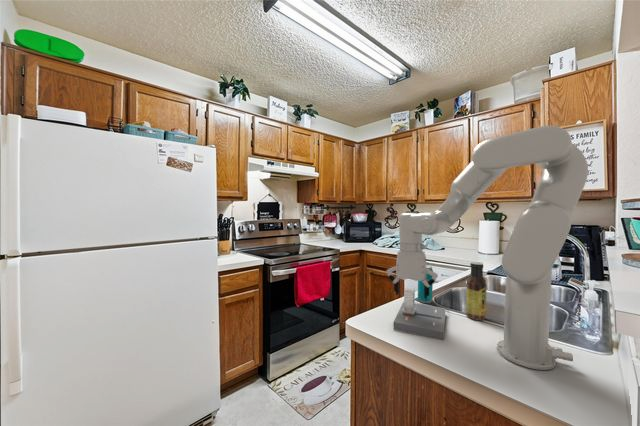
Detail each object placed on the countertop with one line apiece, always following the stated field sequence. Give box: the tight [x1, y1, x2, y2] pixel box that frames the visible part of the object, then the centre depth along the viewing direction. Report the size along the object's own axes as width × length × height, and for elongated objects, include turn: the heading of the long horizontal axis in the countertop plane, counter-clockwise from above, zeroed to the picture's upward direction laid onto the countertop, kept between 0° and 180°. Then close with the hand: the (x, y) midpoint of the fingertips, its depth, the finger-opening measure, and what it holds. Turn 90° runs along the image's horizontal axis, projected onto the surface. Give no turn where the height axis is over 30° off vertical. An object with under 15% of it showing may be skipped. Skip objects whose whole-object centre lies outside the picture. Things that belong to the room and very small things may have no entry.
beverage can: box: [417, 264, 434, 304], centre depth 110 cm, size 6×6×15 cm
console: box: [393, 301, 446, 341], centre depth 92 cm, size 15×20×3 cm
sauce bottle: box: [465, 261, 487, 321], centre depth 95 cm, size 6×6×20 cm
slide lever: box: [402, 287, 416, 315], centre depth 93 cm, size 4×5×8 cm
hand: (411, 295), depth 93 cm, fingers open, 9 cm apart
